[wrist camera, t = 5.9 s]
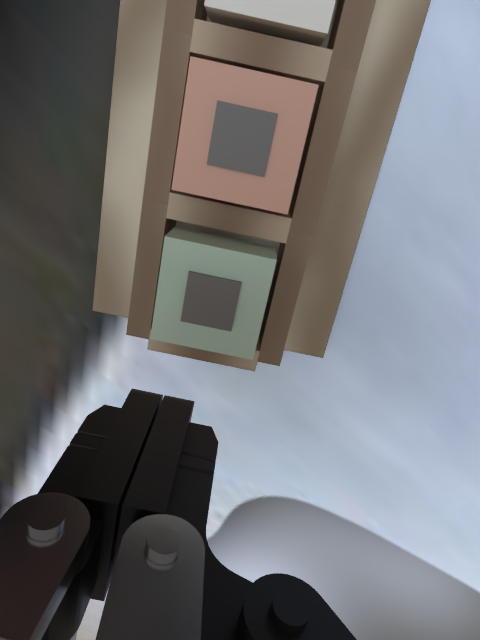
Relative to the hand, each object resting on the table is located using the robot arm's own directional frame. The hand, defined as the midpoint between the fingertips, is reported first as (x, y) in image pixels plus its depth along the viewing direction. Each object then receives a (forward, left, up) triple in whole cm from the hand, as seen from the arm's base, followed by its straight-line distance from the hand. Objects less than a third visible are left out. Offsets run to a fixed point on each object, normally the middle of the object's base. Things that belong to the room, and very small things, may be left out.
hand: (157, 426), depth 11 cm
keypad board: (0, -7, -17) cm, 18 cm away
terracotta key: (0, -7, -13) cm, 15 cm away
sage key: (0, 0, -13) cm, 13 cm away
